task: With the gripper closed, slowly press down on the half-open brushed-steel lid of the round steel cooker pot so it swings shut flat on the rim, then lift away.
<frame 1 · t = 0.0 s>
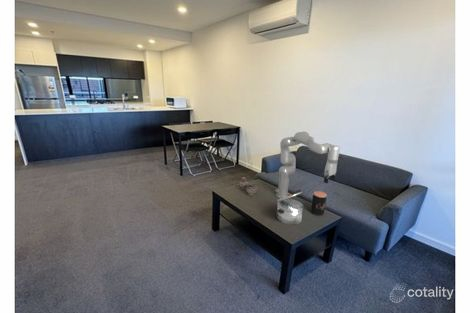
hand: (329, 181, 179), 31 cm above the table, tool pointing down, fingers open, 9 cm apart
coffee jar: (317, 212, 192), on the table
pottery: (247, 191, 230), on the table
cooker pot: (288, 217, 183), on the table
cooker lid: (288, 195, 179), point 19 cm above the table, hinge at 35.0°
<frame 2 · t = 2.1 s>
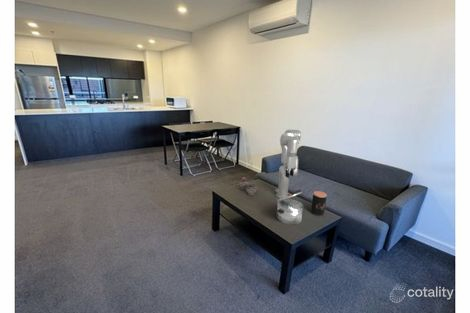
hand: (289, 176, 176), 35 cm above the table, tool pointing down, fingers open, 4 cm apart
nothing on the table moved.
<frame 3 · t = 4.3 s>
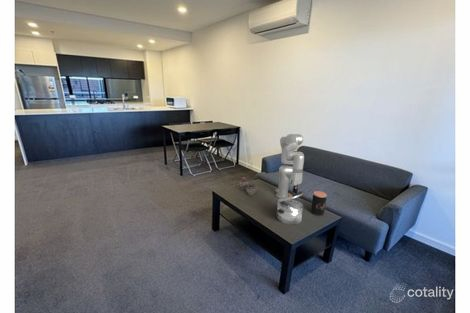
hand: (294, 192, 174), 24 cm above the table, tool pointing down, fingers closed
cooker lid: (289, 196, 179), point 19 cm above the table, hinge at 30.5°, touching gripper
everything else where it was.
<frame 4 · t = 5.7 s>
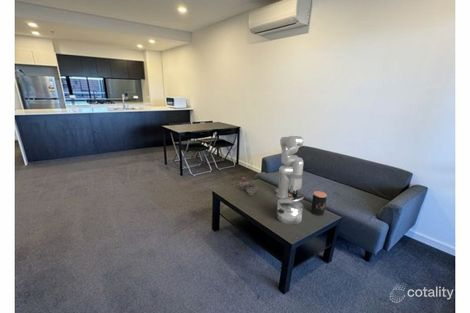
hand: (294, 197, 175), 20 cm above the table, tool pointing down, fingers closed
cooker lid: (290, 198, 179), point 18 cm above the table, hinge at 22.7°
everything else where it was.
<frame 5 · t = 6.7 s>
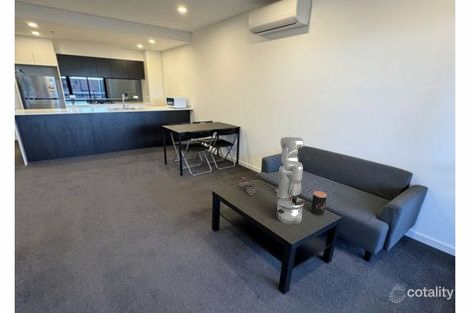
hand: (294, 202, 176), 16 cm above the table, tool pointing down, fingers closed
cooker lid: (290, 201, 178), point 15 cm above the table, hinge at 8.8°, touching gripper
everything else where it was.
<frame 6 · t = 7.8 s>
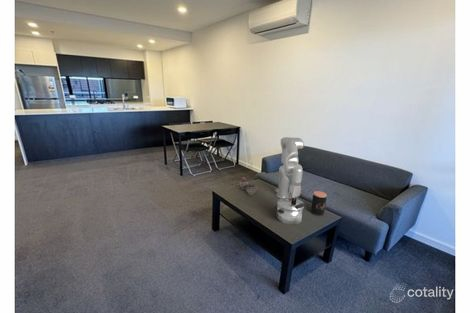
hand: (293, 204, 176), 14 cm above the table, tool pointing down, fingers closed
cooker lid: (290, 202, 179), point 14 cm above the table, hinge at 1.6°, touching gripper
everything else where it was.
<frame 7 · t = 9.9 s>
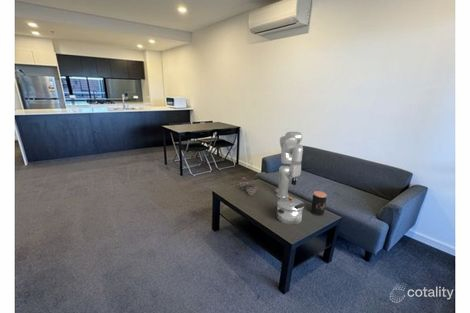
hand: (293, 184, 175), 29 cm above the table, tool pointing down, fingers closed
cooker lid: (290, 202, 179), point 14 cm above the table, hinge at 1.5°
everything else where it was.
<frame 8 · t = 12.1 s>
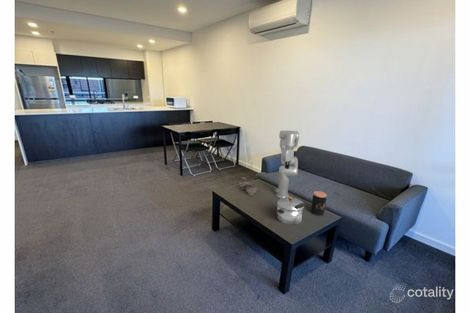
hand: (286, 168, 188), 37 cm above the table, tool pointing down, fingers closed
nothing on the table moved.
at the end: cooker lid at +2° (first picture: +35°); coffee jar moved 0.2 cm from its start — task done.
